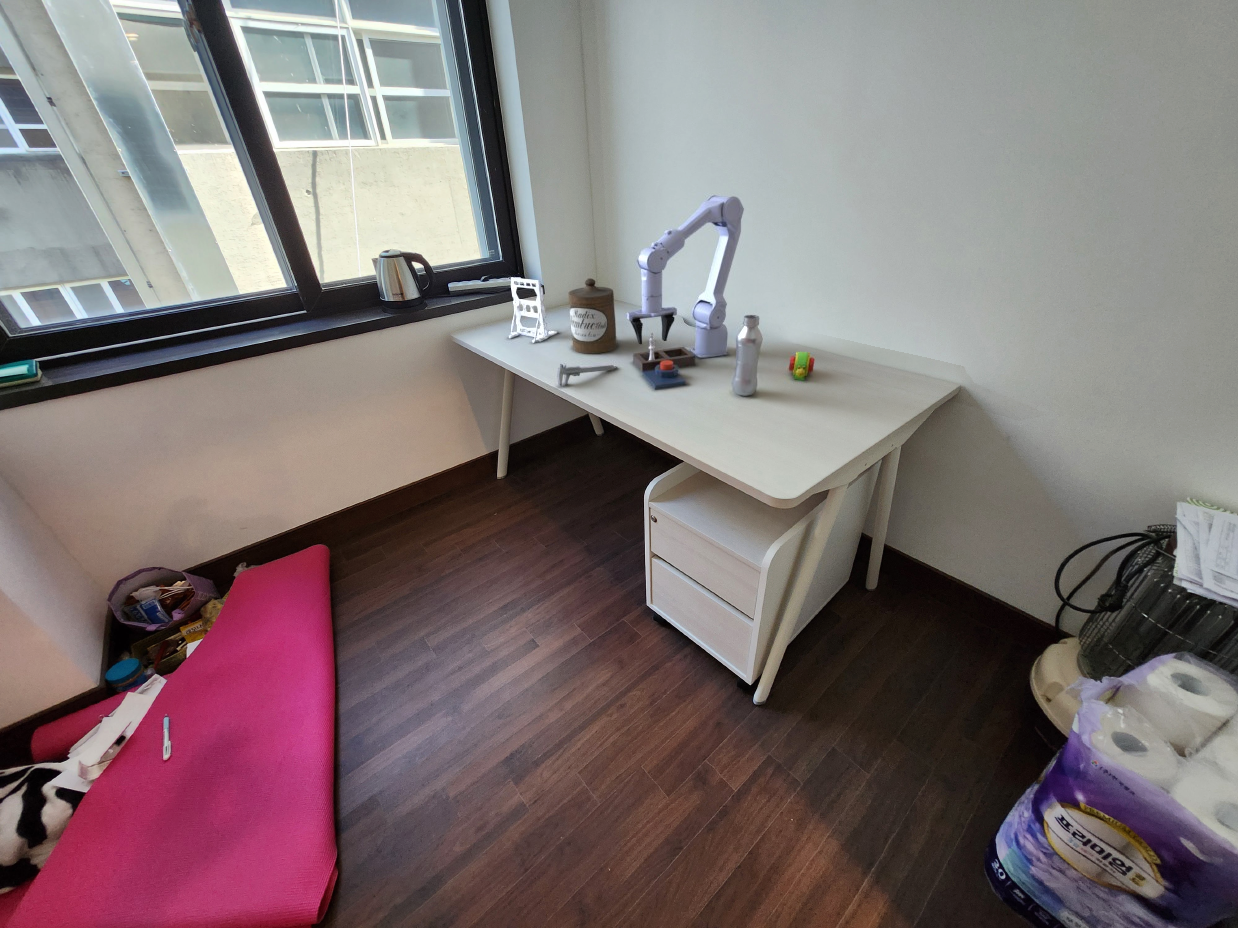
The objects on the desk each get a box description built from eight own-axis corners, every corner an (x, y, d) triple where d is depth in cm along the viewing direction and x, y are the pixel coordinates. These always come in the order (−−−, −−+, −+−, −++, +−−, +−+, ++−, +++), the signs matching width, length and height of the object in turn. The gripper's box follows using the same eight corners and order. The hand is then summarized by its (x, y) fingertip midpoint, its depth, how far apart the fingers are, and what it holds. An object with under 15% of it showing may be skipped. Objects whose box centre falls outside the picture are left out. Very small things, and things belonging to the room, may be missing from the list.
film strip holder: (561, 332, 178) (555, 276, 168) (536, 343, 168) (528, 284, 158) (531, 328, 185) (524, 273, 174) (506, 338, 175) (497, 280, 165)
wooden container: (565, 351, 160) (558, 282, 148) (584, 338, 172) (579, 273, 160) (606, 356, 155) (602, 285, 143) (623, 342, 167) (620, 275, 155)
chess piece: (661, 363, 147) (662, 331, 142) (657, 369, 144) (657, 336, 138) (646, 362, 149) (646, 330, 144) (641, 367, 145) (641, 335, 140)
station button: (670, 366, 138) (670, 359, 137) (675, 370, 135) (675, 363, 134) (658, 367, 138) (658, 361, 137) (662, 372, 135) (663, 365, 134)
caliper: (560, 387, 135) (558, 365, 131) (558, 386, 135) (556, 364, 132) (617, 368, 145) (616, 348, 142) (614, 367, 146) (614, 347, 143)
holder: (683, 355, 153) (683, 346, 151) (695, 365, 145) (695, 356, 144) (633, 362, 149) (632, 353, 147) (642, 373, 142) (642, 363, 140)
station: (672, 371, 142) (672, 361, 140) (686, 385, 133) (687, 374, 131) (642, 375, 140) (642, 365, 138) (654, 389, 131) (655, 379, 129)
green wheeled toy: (786, 381, 132) (790, 358, 129) (790, 357, 148) (794, 336, 144) (811, 384, 130) (815, 360, 127) (812, 359, 146) (816, 338, 142)
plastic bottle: (742, 400, 123) (750, 322, 112) (725, 391, 128) (732, 316, 117) (761, 395, 125) (771, 318, 115) (744, 386, 130) (752, 312, 120)
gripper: (631, 300, 130) (632, 349, 138) (681, 295, 133) (680, 343, 141) (624, 295, 136) (625, 342, 143) (672, 289, 139) (671, 336, 146)
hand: (652, 342), depth 142 cm, fingers open, 7 cm apart
